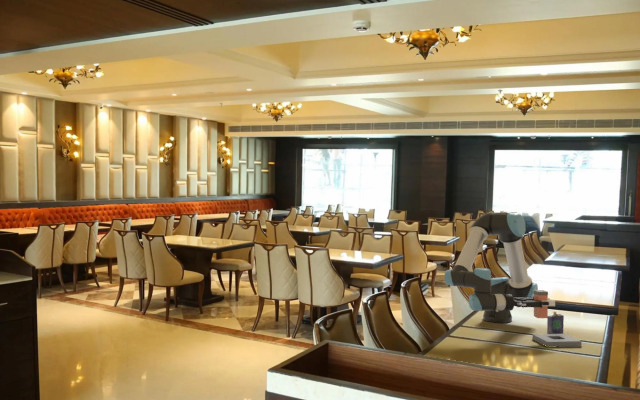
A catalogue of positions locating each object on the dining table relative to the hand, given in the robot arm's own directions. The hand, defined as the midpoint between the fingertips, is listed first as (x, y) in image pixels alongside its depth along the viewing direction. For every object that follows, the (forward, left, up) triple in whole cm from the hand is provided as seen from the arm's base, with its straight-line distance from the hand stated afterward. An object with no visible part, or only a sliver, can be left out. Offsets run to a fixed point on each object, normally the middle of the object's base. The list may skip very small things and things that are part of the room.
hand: (551, 302), depth 259 cm
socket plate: (+4, 0, -18) cm, 19 cm away
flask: (-14, +9, -18) cm, 25 cm away
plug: (0, -5, -7) cm, 9 cm away
